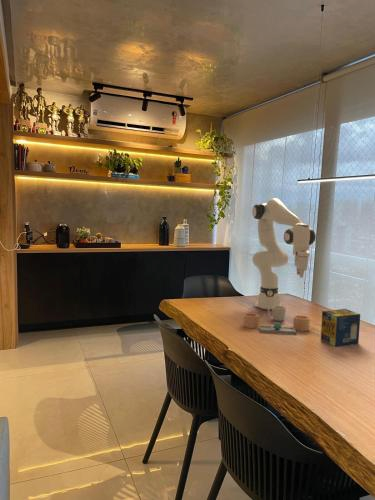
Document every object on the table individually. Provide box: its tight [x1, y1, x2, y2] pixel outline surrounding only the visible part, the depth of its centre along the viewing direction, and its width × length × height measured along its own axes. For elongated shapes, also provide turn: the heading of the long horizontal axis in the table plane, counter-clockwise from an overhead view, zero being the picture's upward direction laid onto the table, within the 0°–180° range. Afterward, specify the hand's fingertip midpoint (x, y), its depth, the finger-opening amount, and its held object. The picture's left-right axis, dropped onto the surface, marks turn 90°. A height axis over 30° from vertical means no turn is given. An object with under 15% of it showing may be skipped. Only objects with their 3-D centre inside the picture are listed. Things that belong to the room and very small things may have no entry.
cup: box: [267, 305, 287, 322], centre depth 226 cm, size 11×8×8 cm
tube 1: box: [242, 312, 260, 329], centre depth 213 cm, size 9×9×7 cm
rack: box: [258, 325, 297, 335], centre depth 204 cm, size 19×8×2 cm, turn 83°
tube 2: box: [292, 314, 311, 332], centre depth 209 cm, size 9×9×7 cm
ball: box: [273, 321, 282, 330], centre depth 204 cm, size 4×4×4 cm
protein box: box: [320, 308, 361, 348], centre depth 188 cm, size 10×15×16 cm
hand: (299, 275), depth 213 cm, fingers open, 8 cm apart
